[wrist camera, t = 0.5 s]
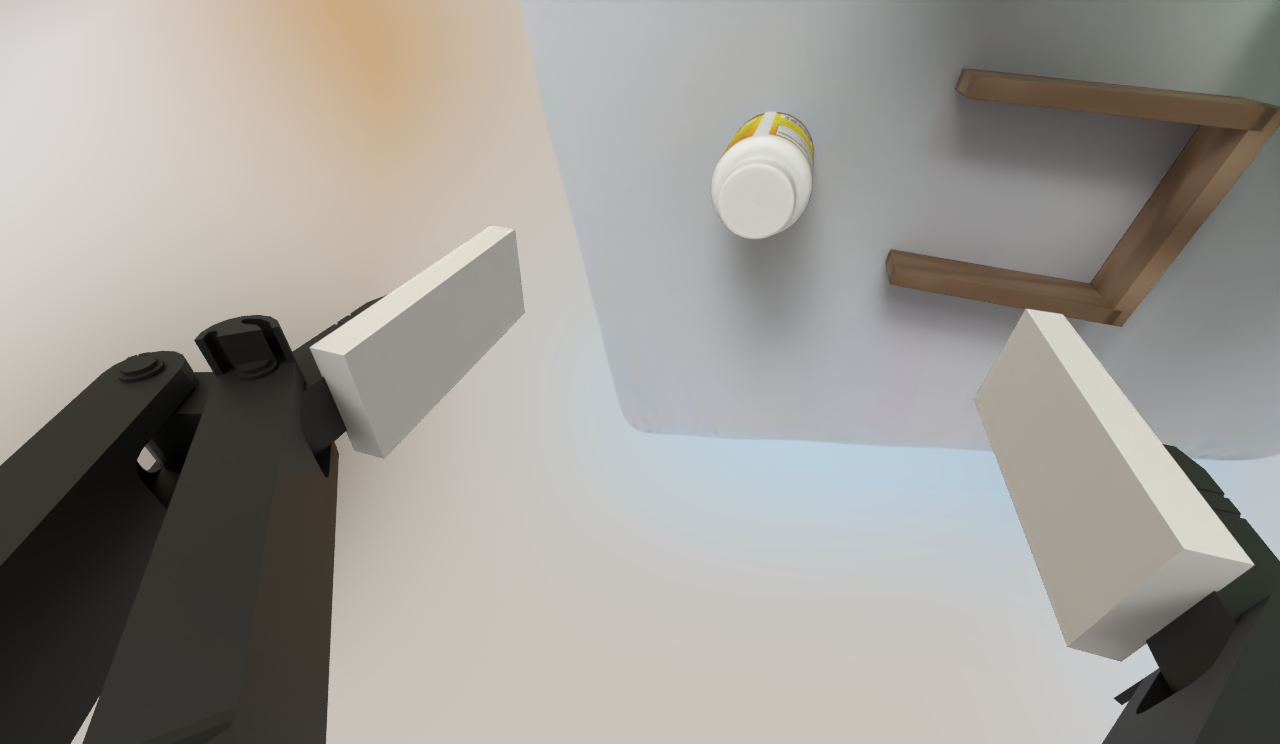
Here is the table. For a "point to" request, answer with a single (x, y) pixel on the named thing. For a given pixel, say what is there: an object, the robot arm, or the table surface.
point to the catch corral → (1158, 229)
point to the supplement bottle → (764, 176)
